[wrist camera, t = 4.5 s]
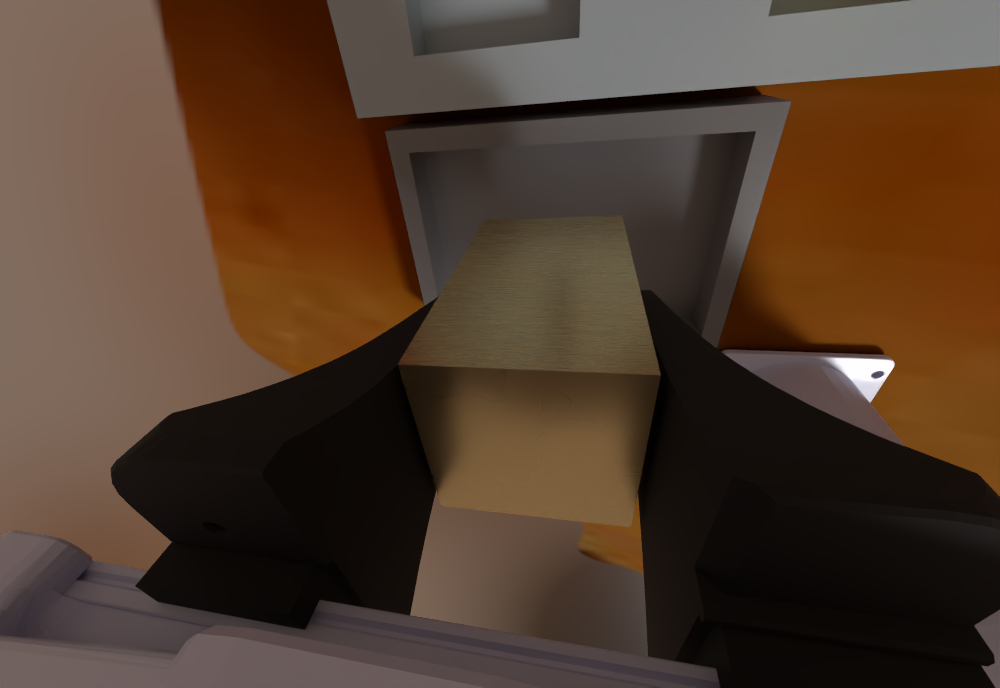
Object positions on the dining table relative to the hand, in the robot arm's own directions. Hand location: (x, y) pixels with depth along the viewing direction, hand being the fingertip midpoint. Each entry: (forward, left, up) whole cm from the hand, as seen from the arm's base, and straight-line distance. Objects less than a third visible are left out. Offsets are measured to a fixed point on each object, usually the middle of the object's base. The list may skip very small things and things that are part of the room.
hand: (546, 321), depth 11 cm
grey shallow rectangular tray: (-1, 0, -10) cm, 9 cm away
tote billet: (0, 0, -3) cm, 2 cm away
